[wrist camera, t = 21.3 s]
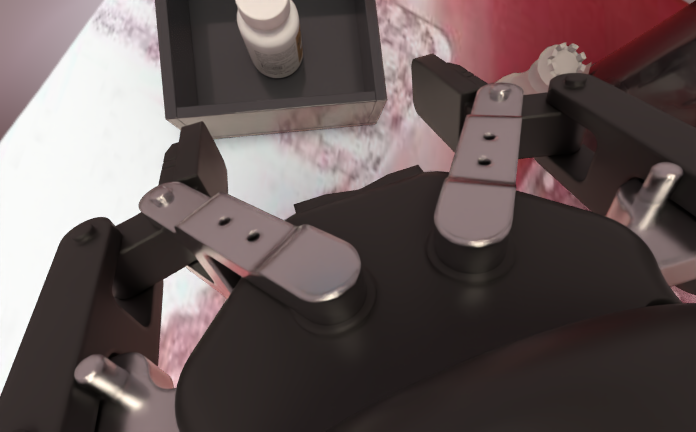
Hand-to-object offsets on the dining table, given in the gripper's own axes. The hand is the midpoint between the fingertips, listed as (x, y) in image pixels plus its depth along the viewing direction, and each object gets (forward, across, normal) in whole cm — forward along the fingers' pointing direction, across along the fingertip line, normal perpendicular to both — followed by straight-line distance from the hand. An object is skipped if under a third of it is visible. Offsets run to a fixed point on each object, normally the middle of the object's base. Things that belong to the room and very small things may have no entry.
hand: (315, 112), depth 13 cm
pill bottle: (+20, 0, +4) cm, 20 cm away
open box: (+20, 0, +4) cm, 21 cm away
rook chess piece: (+13, -18, +11) cm, 25 cm away
